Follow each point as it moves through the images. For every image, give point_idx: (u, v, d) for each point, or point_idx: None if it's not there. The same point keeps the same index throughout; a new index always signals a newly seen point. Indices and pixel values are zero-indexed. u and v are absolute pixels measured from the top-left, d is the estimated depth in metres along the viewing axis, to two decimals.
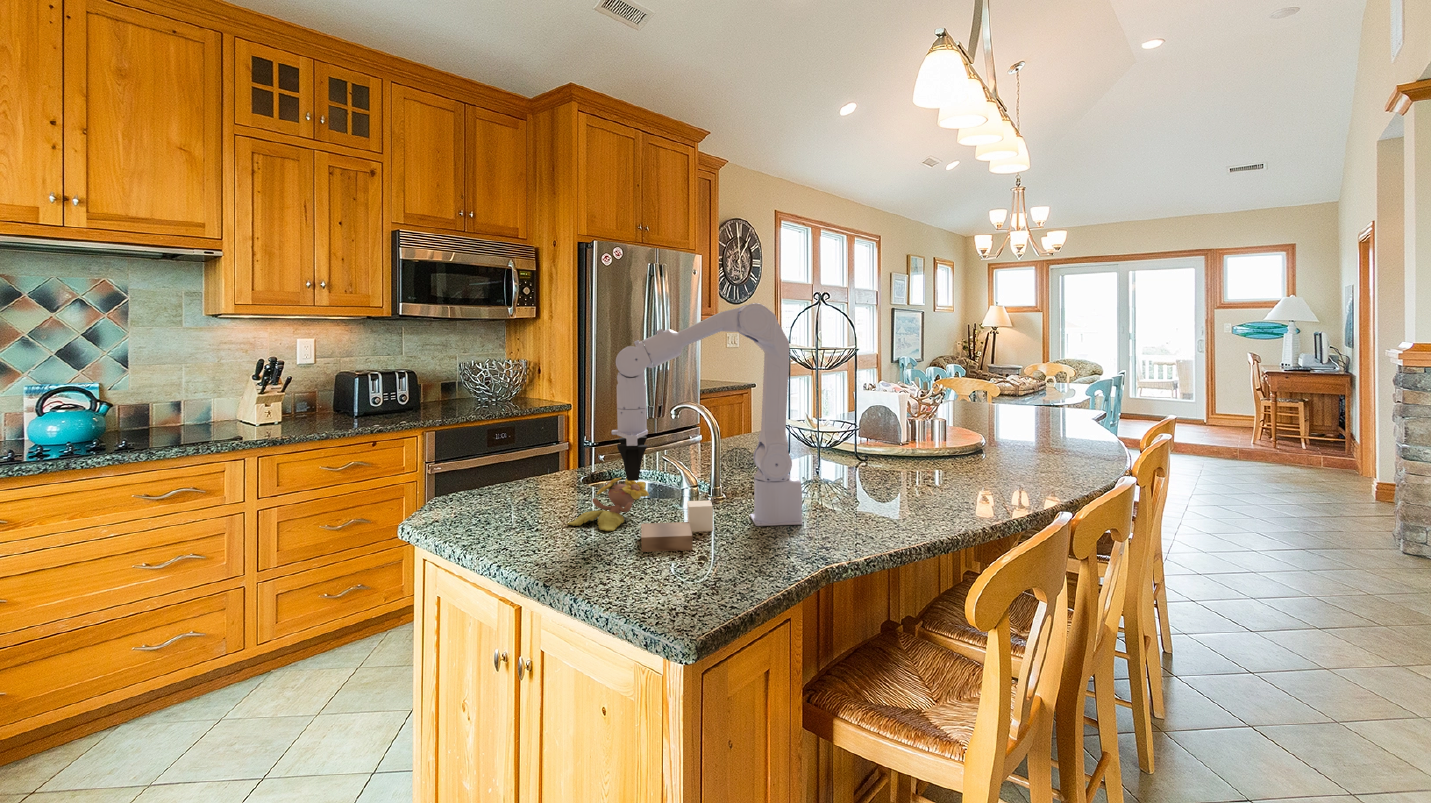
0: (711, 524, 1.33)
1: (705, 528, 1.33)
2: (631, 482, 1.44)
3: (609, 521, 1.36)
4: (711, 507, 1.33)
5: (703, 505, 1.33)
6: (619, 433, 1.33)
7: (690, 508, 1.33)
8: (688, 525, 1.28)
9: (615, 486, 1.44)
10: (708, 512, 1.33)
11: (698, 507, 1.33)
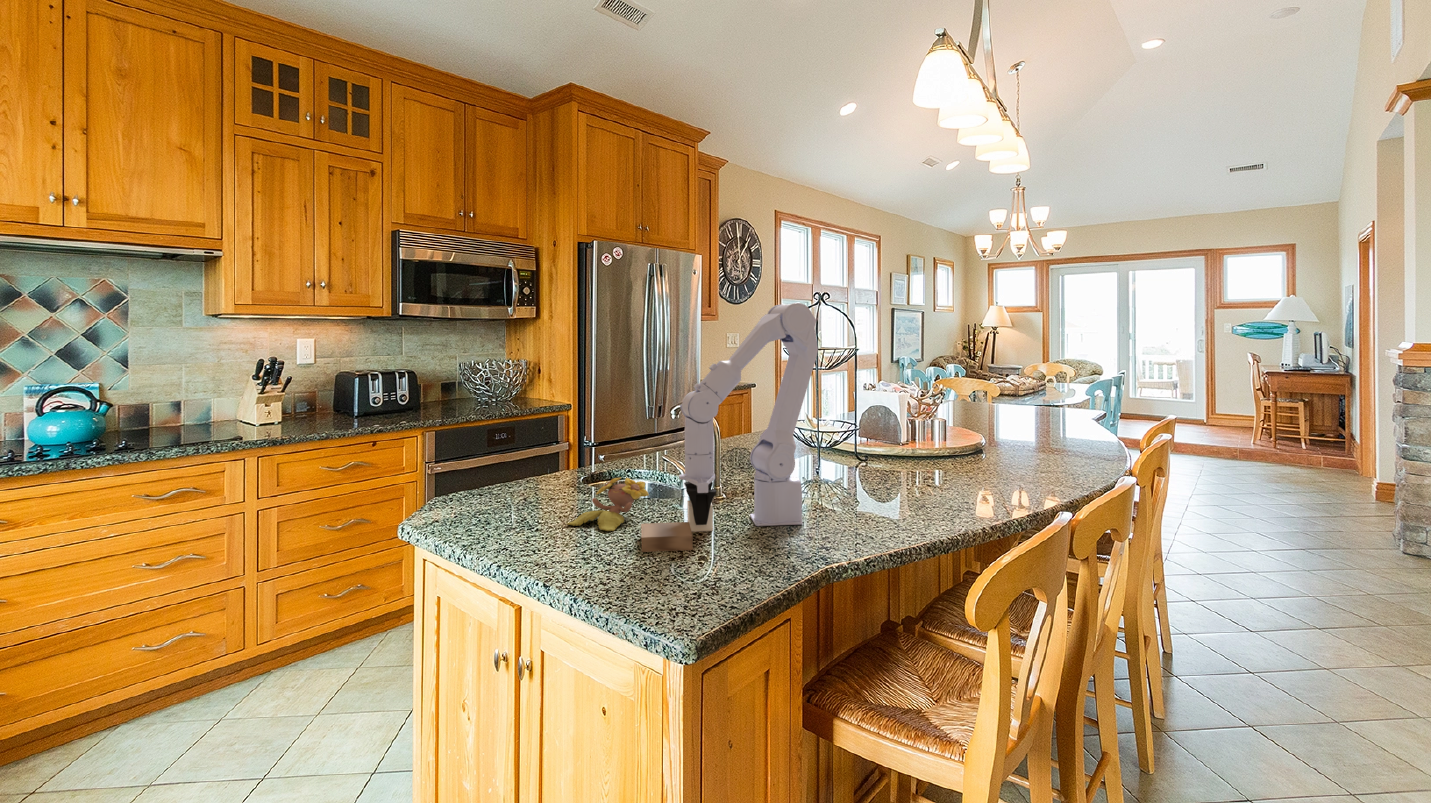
0: (711, 523, 1.33)
1: (705, 528, 1.33)
2: (630, 482, 1.44)
3: (609, 521, 1.36)
4: (711, 506, 1.33)
5: None
6: (688, 478, 1.32)
7: (690, 507, 1.32)
8: (688, 525, 1.28)
9: (615, 486, 1.44)
10: None
11: None
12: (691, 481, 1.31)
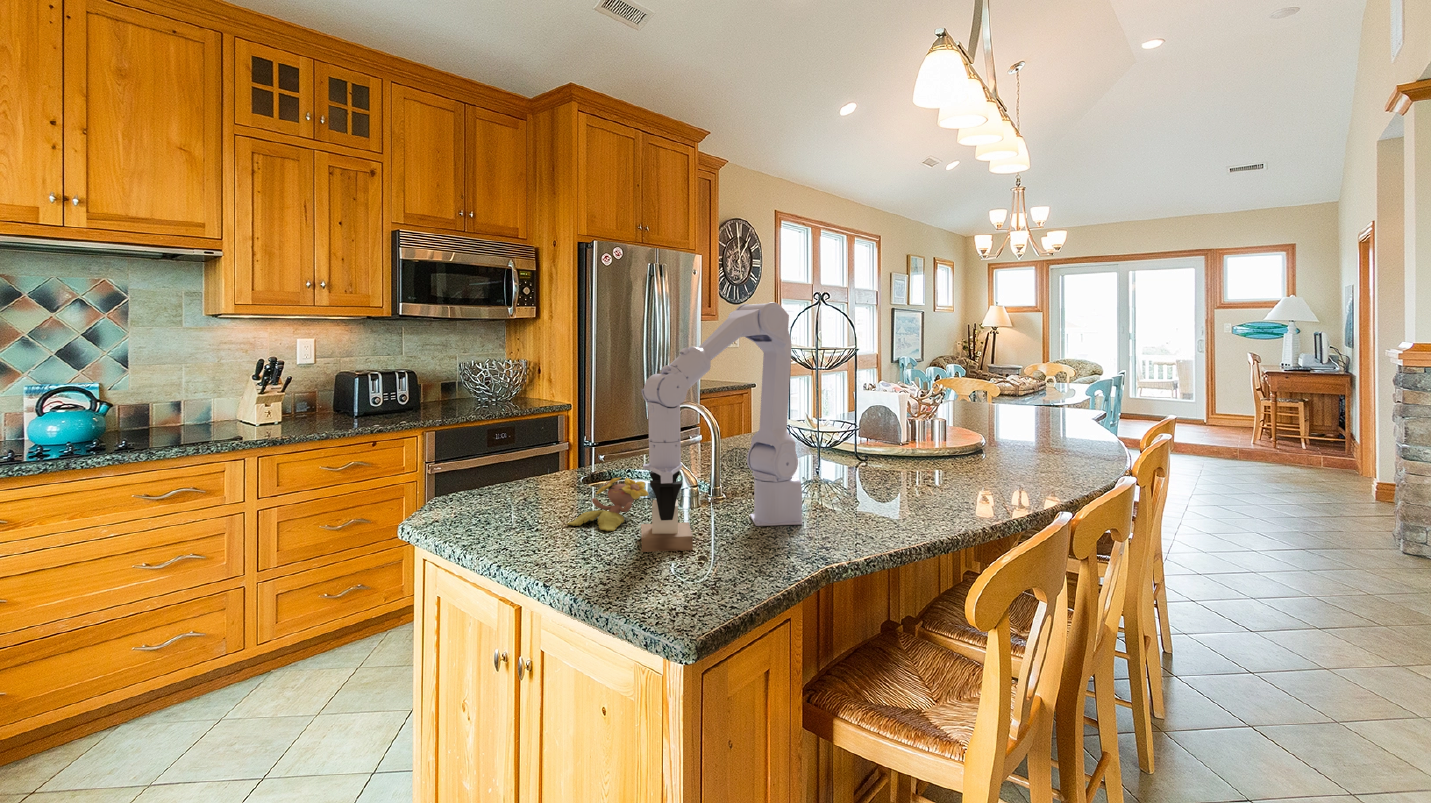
0: (676, 526, 1.23)
1: (669, 530, 1.23)
2: (630, 482, 1.44)
3: (609, 521, 1.36)
4: (676, 507, 1.23)
5: None
6: (651, 468, 1.22)
7: (653, 508, 1.23)
8: (688, 525, 1.28)
9: (614, 486, 1.44)
10: None
11: None
12: (655, 471, 1.20)
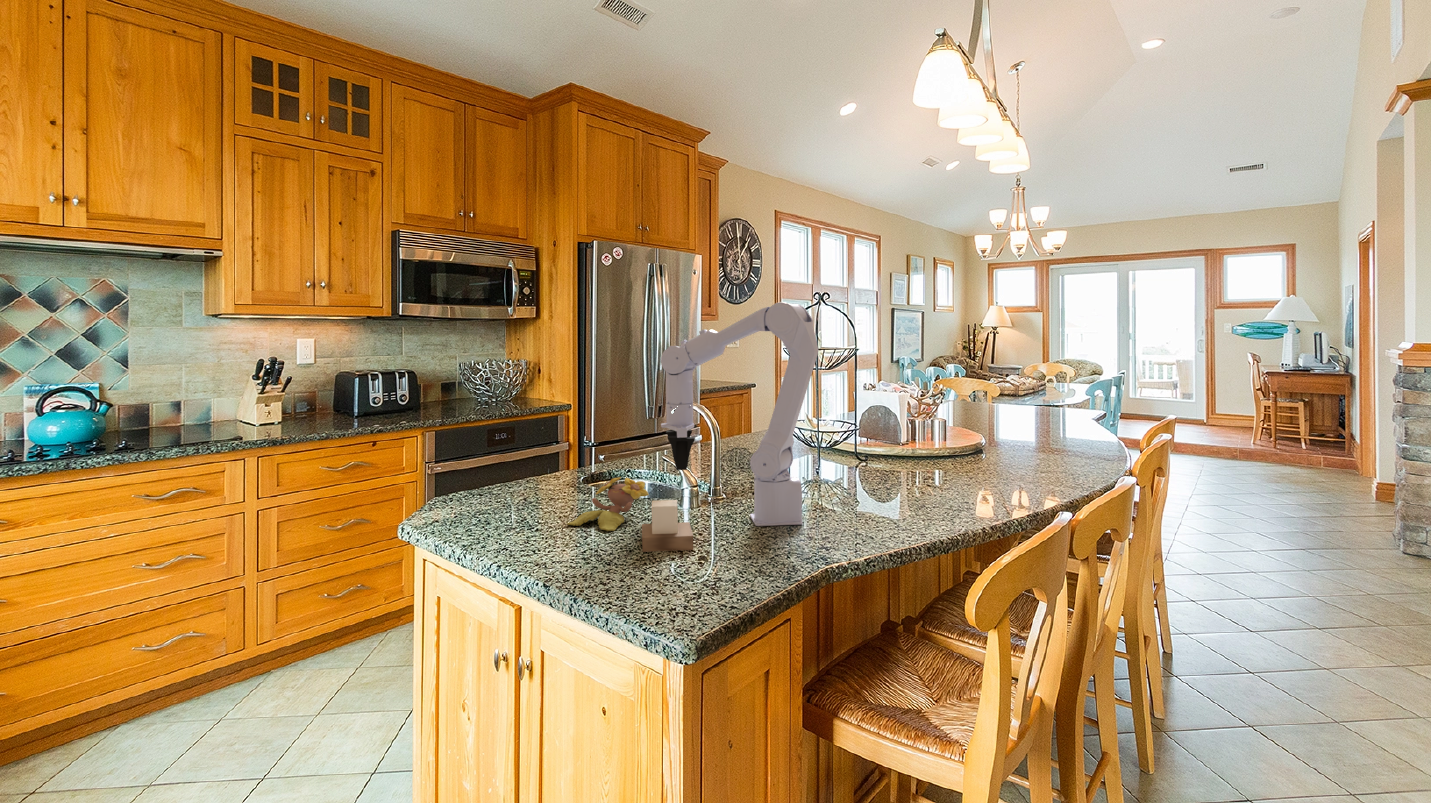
0: (676, 525, 1.23)
1: (669, 530, 1.23)
2: (630, 482, 1.44)
3: (609, 521, 1.36)
4: (676, 507, 1.23)
5: (667, 505, 1.23)
6: (669, 426, 1.44)
7: (653, 508, 1.23)
8: (689, 525, 1.28)
9: (614, 486, 1.44)
10: (672, 512, 1.23)
11: (661, 507, 1.23)
12: (671, 428, 1.42)
